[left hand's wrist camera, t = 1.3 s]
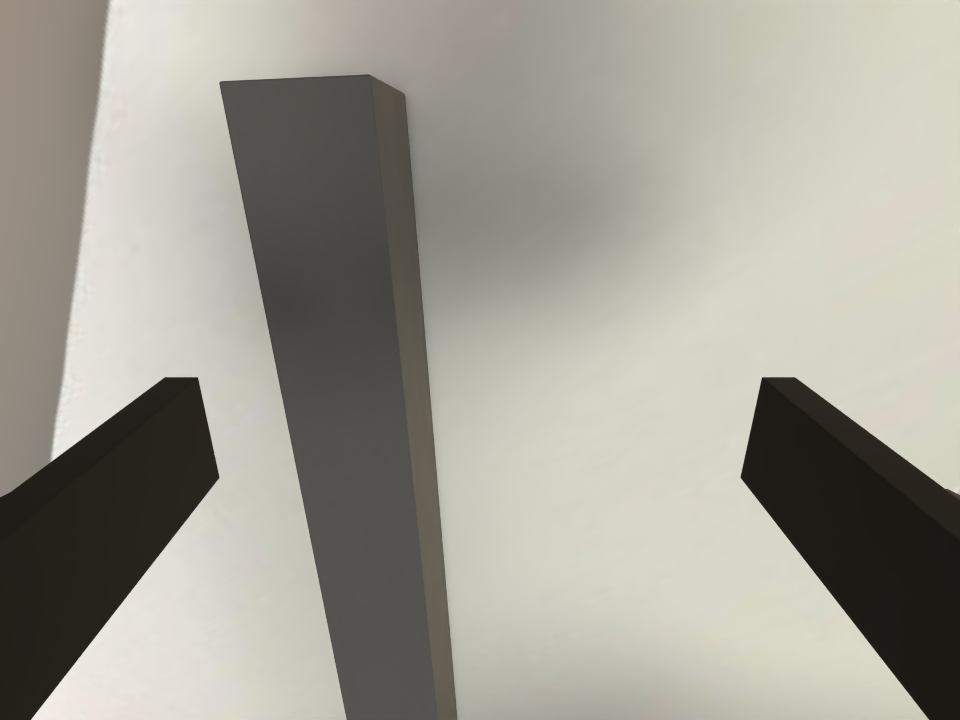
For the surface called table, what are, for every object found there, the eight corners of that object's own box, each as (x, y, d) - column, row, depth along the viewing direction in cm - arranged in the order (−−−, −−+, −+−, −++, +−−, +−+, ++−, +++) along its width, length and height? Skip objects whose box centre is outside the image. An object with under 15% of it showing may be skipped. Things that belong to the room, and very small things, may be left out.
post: (297, 98, 27) (218, 81, 19) (404, 93, 27) (370, 74, 19) (402, 785, 48) (385, 915, 40) (462, 784, 47) (458, 914, 40)
